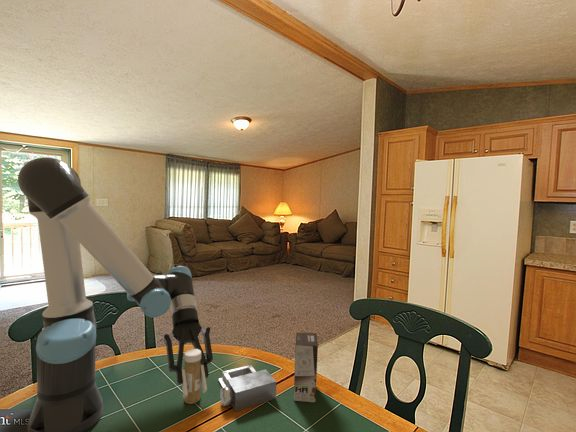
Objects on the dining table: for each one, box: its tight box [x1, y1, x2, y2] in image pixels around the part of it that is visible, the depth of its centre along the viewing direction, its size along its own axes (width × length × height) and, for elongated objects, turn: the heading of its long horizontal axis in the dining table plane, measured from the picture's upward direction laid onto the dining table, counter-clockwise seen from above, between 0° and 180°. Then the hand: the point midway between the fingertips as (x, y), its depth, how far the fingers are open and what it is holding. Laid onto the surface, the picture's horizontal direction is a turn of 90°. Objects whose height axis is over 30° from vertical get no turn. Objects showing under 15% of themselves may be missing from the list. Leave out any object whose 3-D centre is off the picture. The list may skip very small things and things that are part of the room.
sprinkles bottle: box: [183, 348, 202, 405], centre depth 86 cm, size 5×5×13 cm
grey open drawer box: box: [217, 364, 277, 412], centre depth 91 cm, size 14×16×5 cm
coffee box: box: [293, 331, 319, 403], centre depth 91 cm, size 9×6×16 cm
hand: (195, 393), depth 83 cm, fingers closed on sprinkles bottle, 4 cm apart
